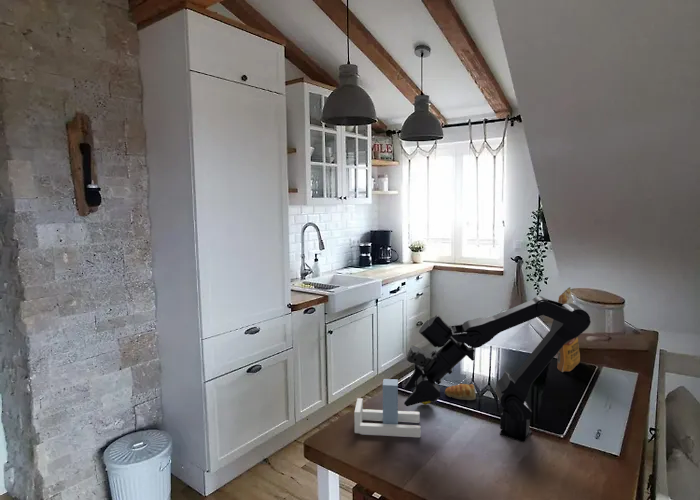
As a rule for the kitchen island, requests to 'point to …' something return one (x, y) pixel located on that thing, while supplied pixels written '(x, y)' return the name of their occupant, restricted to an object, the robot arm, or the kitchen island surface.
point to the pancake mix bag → (568, 343)
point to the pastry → (461, 392)
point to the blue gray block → (390, 401)
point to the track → (385, 429)
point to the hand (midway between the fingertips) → (405, 396)
